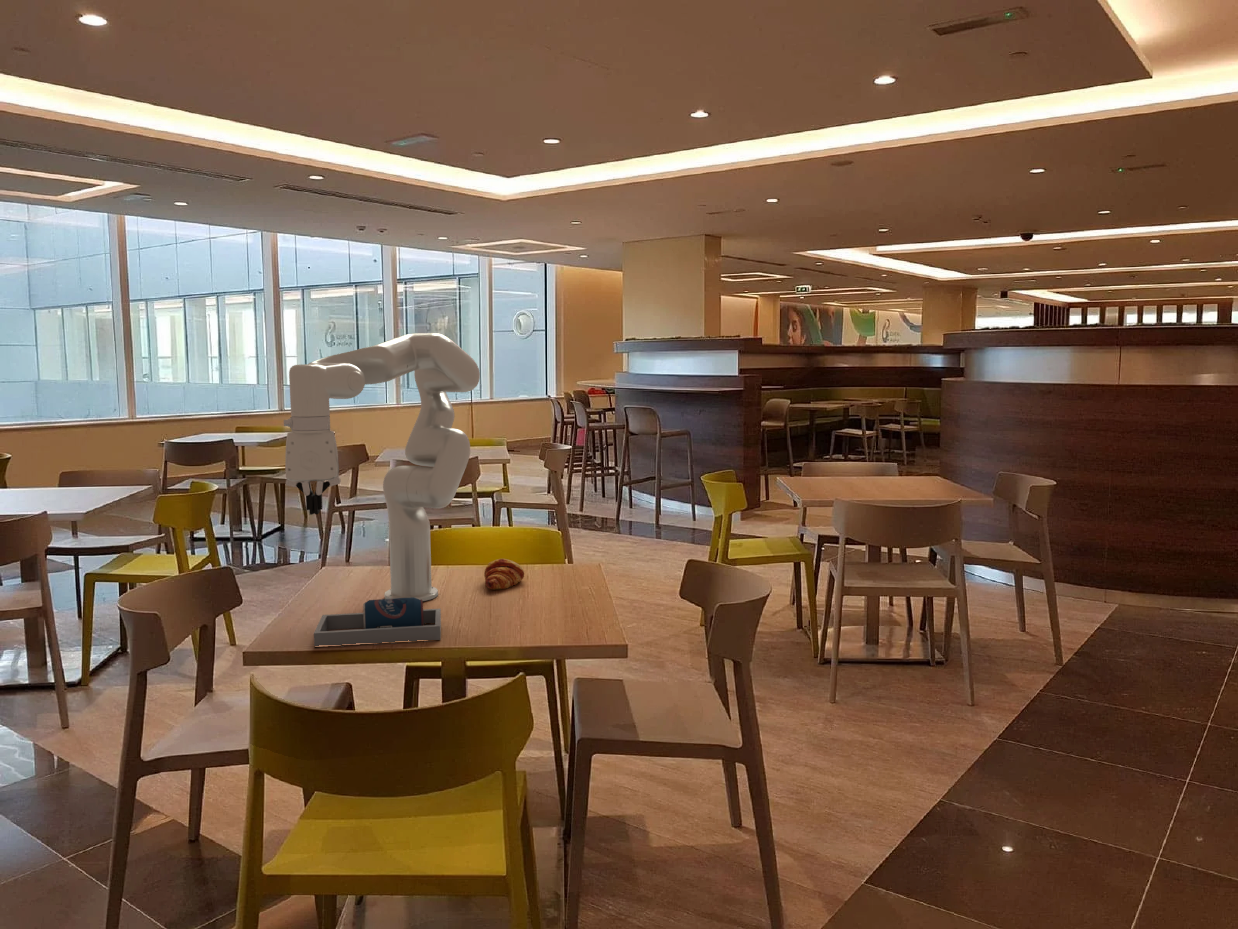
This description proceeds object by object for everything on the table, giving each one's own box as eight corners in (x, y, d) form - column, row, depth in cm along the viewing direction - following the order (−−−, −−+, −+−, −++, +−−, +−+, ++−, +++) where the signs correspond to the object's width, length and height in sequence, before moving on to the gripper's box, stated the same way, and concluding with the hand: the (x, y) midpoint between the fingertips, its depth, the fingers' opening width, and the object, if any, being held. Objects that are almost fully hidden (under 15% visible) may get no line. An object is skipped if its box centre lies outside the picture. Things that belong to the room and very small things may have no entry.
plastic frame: (323, 628, 189) (322, 614, 189) (440, 622, 194) (440, 608, 193) (314, 648, 176) (313, 633, 176) (440, 640, 181) (440, 626, 181)
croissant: (505, 585, 239) (491, 559, 239) (537, 569, 237) (524, 542, 237) (481, 605, 218) (466, 576, 218) (516, 588, 216) (501, 558, 216)
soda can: (362, 593, 185) (421, 589, 189) (364, 614, 190) (421, 610, 193) (363, 620, 181) (423, 616, 184) (364, 641, 185) (423, 636, 188)
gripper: (268, 427, 177) (273, 518, 179) (346, 425, 180) (350, 515, 182) (275, 424, 185) (279, 511, 187) (350, 423, 187) (354, 509, 190)
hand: (314, 513), depth 185 cm, fingers closed
